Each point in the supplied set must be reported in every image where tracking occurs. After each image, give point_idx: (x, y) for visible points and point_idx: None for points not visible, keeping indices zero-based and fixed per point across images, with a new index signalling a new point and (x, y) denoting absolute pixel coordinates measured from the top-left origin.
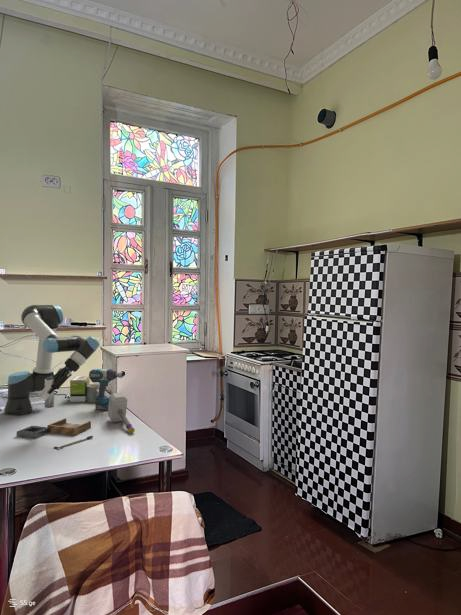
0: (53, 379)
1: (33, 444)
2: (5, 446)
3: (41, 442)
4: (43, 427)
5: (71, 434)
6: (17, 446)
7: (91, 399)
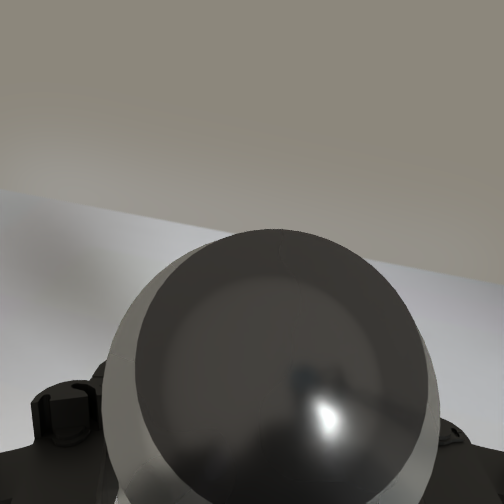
0: (133, 502)
1: (76, 319)
2: (143, 216)
3: (77, 363)
4: None
5: None
6: (104, 253)
7: None
